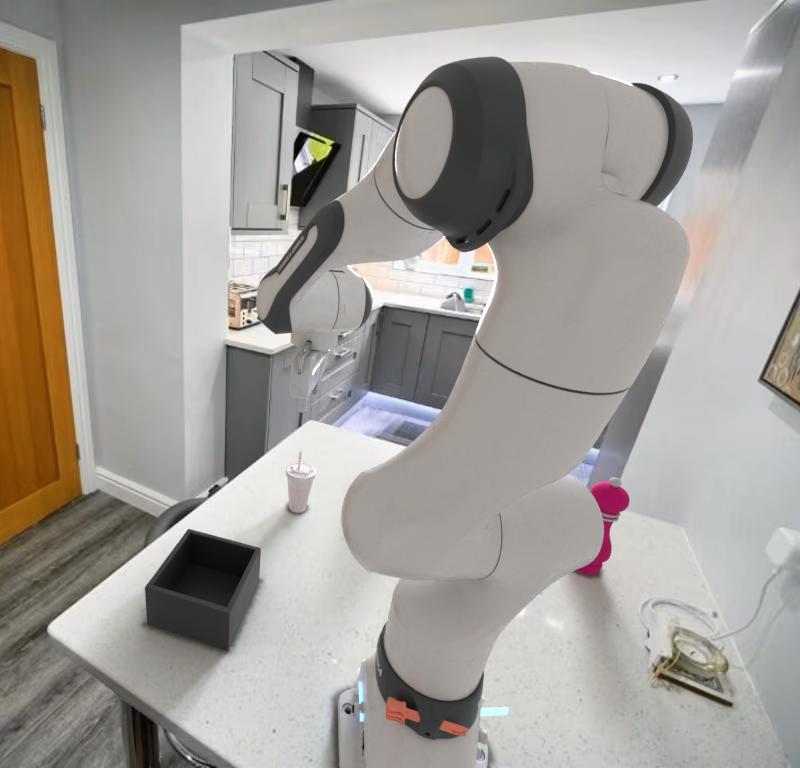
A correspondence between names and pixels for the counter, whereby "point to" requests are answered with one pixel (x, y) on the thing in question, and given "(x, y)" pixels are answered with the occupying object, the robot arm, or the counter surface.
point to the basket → (204, 588)
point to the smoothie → (299, 484)
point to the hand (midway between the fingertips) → (307, 401)
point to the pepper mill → (607, 518)
